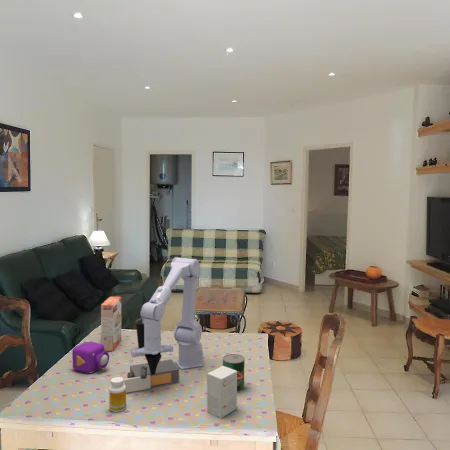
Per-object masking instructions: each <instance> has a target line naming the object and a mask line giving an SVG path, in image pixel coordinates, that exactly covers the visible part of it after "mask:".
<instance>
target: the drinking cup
mask: <svg viewBox="0 0 450 450" xmlns="http://www.w3.org/2000/svg"><path fill="white" fill-rule="evenodd" d="M134 323H135V326H136V328H135V329H136V336H137V337H136V338H137V347H138V348H137V349H140V348H143V347H144V323H143V319H142V317H141V318H138V319H136V320H135V321H134Z"/></svg>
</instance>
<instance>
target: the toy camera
mask: <svg viewBox="0 0 450 450" xmlns="http://www.w3.org/2000/svg"><path fill="white" fill-rule="evenodd" d="M71 351H72V353H71V354H72V369H73V370H74V371H76V372H80V373H86V374H92V373H94V372H96V371H97V370H99V369H105V368H106V367H107V366H108V364H109V361H110V354H109V351H105V350H104V345H103V344H101V342H95V341H91V340H89V339H88V340H87V339H86V340H85V341H83V342H82V343H80V344H77V345H75V346H74V347H73V348H72V350H71Z"/></svg>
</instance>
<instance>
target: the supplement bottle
mask: <svg viewBox="0 0 450 450" xmlns="http://www.w3.org/2000/svg"><path fill="white" fill-rule="evenodd" d="M124 379H125V378H123V377H121V376H118V377H117V376H115V377H113V378H111V379H110V385H109V387H108V409H109V411H110V412H114V413H119V412H120V413H121V412H123V411H124V410H125V409H126V407H127V393H126V386H125V385H124Z"/></svg>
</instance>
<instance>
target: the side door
mask: <svg viewBox="0 0 450 450" xmlns="http://www.w3.org/2000/svg"><path fill="white" fill-rule="evenodd" d="M123 379H124V385H125V386H126V394H127V393H132V392H138V391H143V390H148V389H151V388H150V375H147V367H141V368H140V377H134V378H128V379H127V378H123Z"/></svg>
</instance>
